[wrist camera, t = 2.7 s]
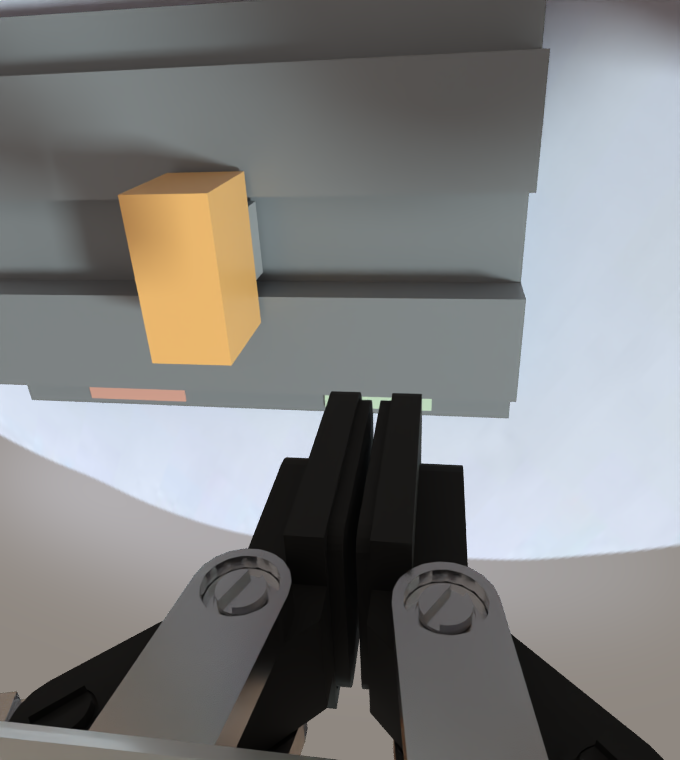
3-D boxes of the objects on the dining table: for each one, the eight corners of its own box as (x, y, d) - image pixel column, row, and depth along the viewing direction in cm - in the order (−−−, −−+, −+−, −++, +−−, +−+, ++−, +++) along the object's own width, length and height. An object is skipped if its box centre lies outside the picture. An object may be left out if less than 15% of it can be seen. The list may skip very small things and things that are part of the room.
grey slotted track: (540, -15, 23) (557, -26, 19) (505, 396, 30) (512, 442, 27) (-51, 25, 26) (-128, 21, 23) (53, 381, 34) (8, 419, 31)
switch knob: (258, 162, 25) (207, 193, 20) (272, 305, 28) (231, 365, 22) (186, 164, 25) (118, 194, 20) (207, 304, 28) (152, 363, 23)
